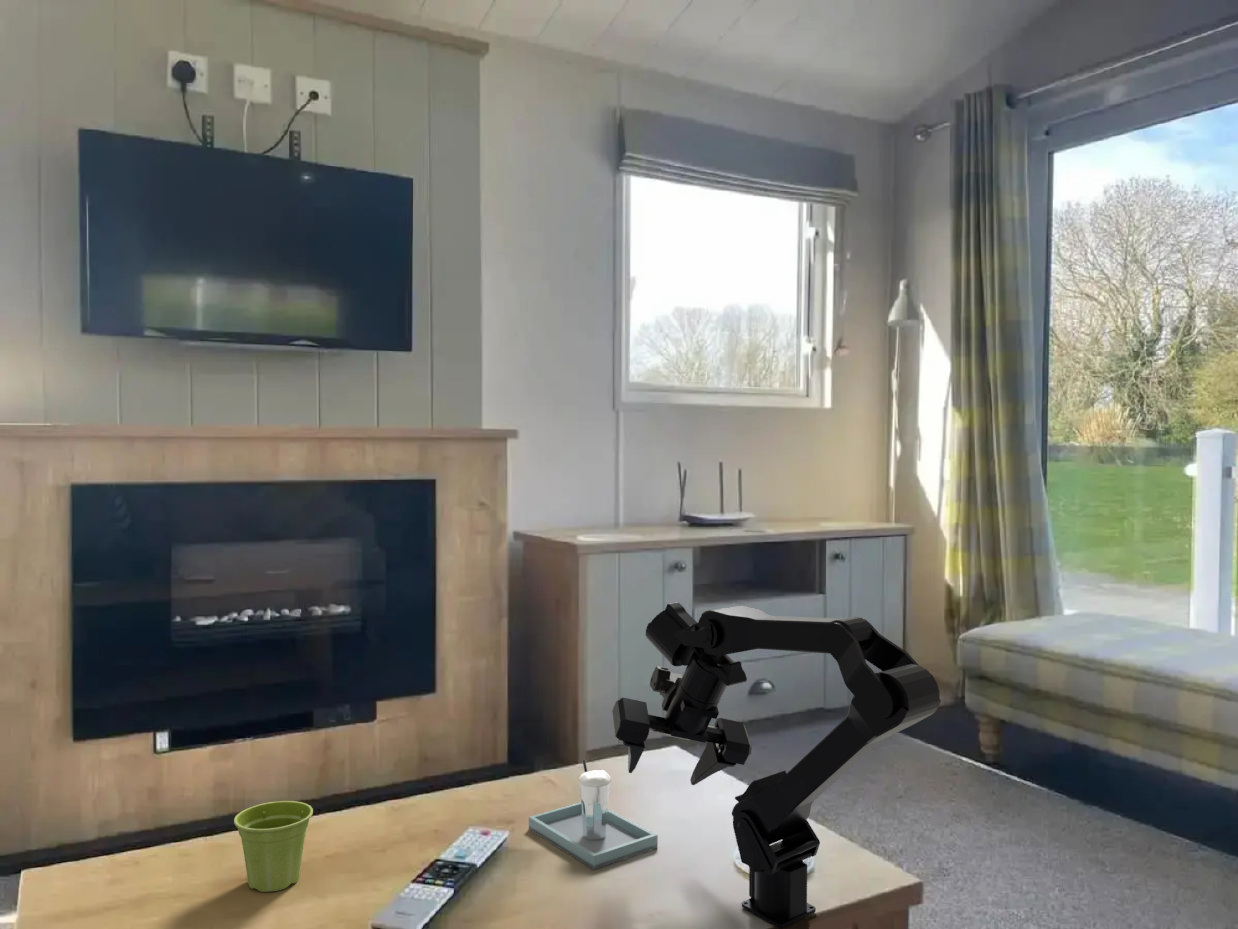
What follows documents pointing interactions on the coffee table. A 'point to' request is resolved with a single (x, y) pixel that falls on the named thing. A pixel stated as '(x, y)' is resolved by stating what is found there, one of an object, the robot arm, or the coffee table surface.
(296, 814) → the plant pot
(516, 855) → the coffee table surface
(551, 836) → the tray
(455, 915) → the coffee table surface
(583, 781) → the milkshake
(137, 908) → the coffee table surface
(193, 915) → the coffee table surface
